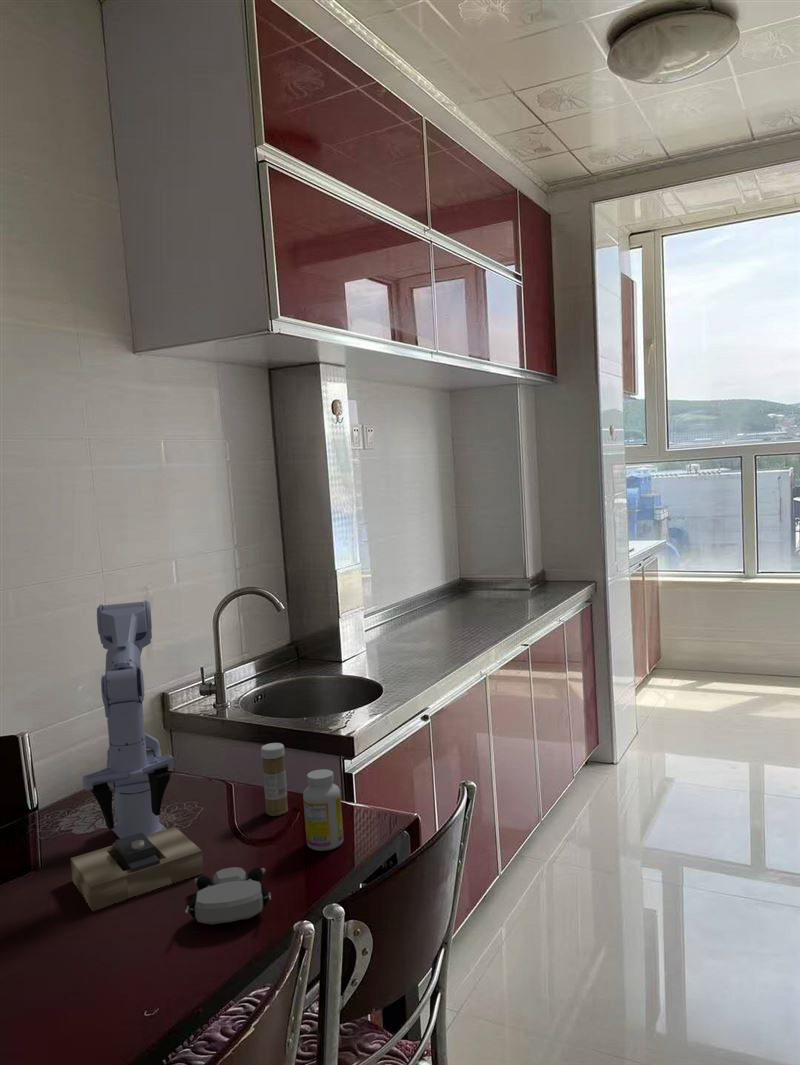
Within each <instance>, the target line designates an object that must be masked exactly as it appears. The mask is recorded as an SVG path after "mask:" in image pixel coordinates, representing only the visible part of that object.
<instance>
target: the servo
mask: <svg viewBox="0 0 800 1065" xmlns="http://www.w3.org/2000/svg"><path fill="white" fill-rule="evenodd" d="M112 845H113V848H114V849H115V850H116V852H117V864H118V865H119V867H120V868H121V869H122V870H123V871H126V870H129V869H130V870H131V872H134V871H137V870H141V869H144V868H147V867H150V866H153V865H157V864H160V860H159V858H158V857H157V856H156V855H155V847H154V845H153V844H152V843H151V842H150V841H149V840H148V838H147V837H146V836H145V835H144V834H143V833H139V834H135V835H132V836H128V837H125V838H121V839H120V838H118V839H115V842H113V843H112ZM112 845H111V846H112Z"/></svg>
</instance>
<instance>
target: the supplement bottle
mask: <svg viewBox="0 0 800 1065" xmlns="http://www.w3.org/2000/svg"><path fill="white" fill-rule="evenodd" d="M334 776H335V775H334V772H333V771H332V770H330V769H326V768H325V769H315V770H311V771H310V772H308V773H307V775H306V777H307V778H306V779H307V780H306V781H307V784H308V786H307V787H306V788H305V789H304V791H303V793H302V800H303V813H304V824H305V839H306V844H307V847H308V848H309V849H310V850H313V851H319V852H325V851H330V850H334V849H336V848H338V847H340V846H341V845H342V844H343V842H344V827H343V826H344V824H343V814H342V798H341V790H340V787H339V786H338V785H336V784H335V783H334V779H335V777H334Z"/></svg>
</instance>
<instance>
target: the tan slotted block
mask: <svg viewBox="0 0 800 1065" xmlns="http://www.w3.org/2000/svg"><path fill="white" fill-rule="evenodd" d="M145 836H146V837H147V838H148V840H149V841H150V842H151V843H152V844H153V845H154V847H155V855H156V856H157V857H158V858H159V860H160V864H157V865H153V866H150V867H147V868H144V869H141V870H137V871H134V872H131V870H130V869H129V870H126V871H123V870H122V869H121V868H120V867H119V865H118V864H117V852H116V850H115V849H114V848H113V845H110V846H107V847H106V846H105V847H103V848H100V849H96V850H93V851H90V852H86V853H83V854H80V855H77V856H73V857H70V867H71V870H70V871H71V880H72V882H73V884H74V885H75V887H76V886H77V887H76V888H77V890H78V889H79V890H78V891H79V893H80V892H81V893H80V894H82V895H83V896H82V895H81V896H82V897H84V898H85V899H84V898H83V899H84V900H86V901H85V903H86V904H87V903H88V904H87V906H89V908H90V910H91V911H92V912H96V911H98V910H101V909H104V908H107V907H110V906H113V905H115V904H114V903H116V904H119V903H121V901H122V902H124V901H123V900H125V901H127V900H126V899H128V898H131V897H133V896H136V897H138V896H137V895H139V896H141V895H140V894H142V893H145V894H147V893H146V892H148V893H151V892H153V891H152V890H154V891H156V890H155V889H157V888H160V887H163V886H165V885H168V886H170V885H169V884H171V885H173V884H172V883H174V884H177V883H180V882H183V881H186V880H189V879H190V878H191V877H192V878H193V877H194V878H195V877H197V876H200V875H204V862H203V860H204V859H203V850H201V848H200V847H199V846H197V845H196V844H195V843H194V842H193V841H192V840H191V839H190V838H189V837H187V835H185V834H184V833H183V832H182V831H181V830H180V829H179V828H177V827H176V826H172V827H169V828H166V829H165V830H162V831H159V832H155V833H152V834H149V835H145ZM192 878H191V879H192ZM185 879H186V880H185ZM176 882H177V883H176ZM165 887H166V886H165ZM163 888H164V887H163ZM160 889H161V888H160ZM157 890H158V889H157ZM150 891H151V892H150ZM142 895H143V894H142ZM131 899H132V898H131ZM128 900H129V899H128ZM118 902H119V903H118ZM112 904H113V905H112Z"/></svg>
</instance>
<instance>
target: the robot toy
mask: <svg viewBox="0 0 800 1065" xmlns="http://www.w3.org/2000/svg"><path fill="white" fill-rule="evenodd" d="M265 872H266V868H264V867H263V868H261V867H255V868H252V869H251V870H250V871H249V872H248V873H247V872H246V871H245V870H244V868H243V867H238V866H237V867H235V866H233V867H227V868H226V867H225V868H222V869H220V870H218V871H216V872H215V873H214V875H213V876H212V879H211V878H210V877H208V876H207V875H201V876H200V877H198V878H194V880H193V882H194V884H195V885H196V886H197V889H198V890H199V891H197V893H196V895H194V896H193V897H192V898H191V900H190V902H189V905H187V906H186V909H185V912H184V913H185V914H188V912H189V915H191V917H192V918H193V919H196V921H197V922H198V923H201V924H205V925H206V924H207V925H210V926H211V925H214V926H215V925H217V924H224V923H231V922H236V921H239V920H248V919H251V918H253V917H254V916H256V915H258V914H259V913H261V912H262V911H263V908H265V907H266V906H267V904H268V902H269V901H270V900H272V893H271V892H269V889H267V888H266V886H265V885H263V884H262V883H260V882H261V881H262V880H263V875H264V874H265ZM212 880H213V881H212Z"/></svg>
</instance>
